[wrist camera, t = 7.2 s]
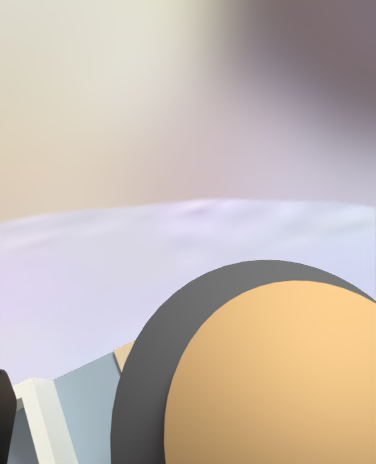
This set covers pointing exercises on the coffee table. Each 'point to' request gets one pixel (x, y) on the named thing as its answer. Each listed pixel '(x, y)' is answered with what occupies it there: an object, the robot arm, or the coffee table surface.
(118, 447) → the grey and orange cylinder
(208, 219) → the coffee table surface
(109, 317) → the coffee table surface
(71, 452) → the board
